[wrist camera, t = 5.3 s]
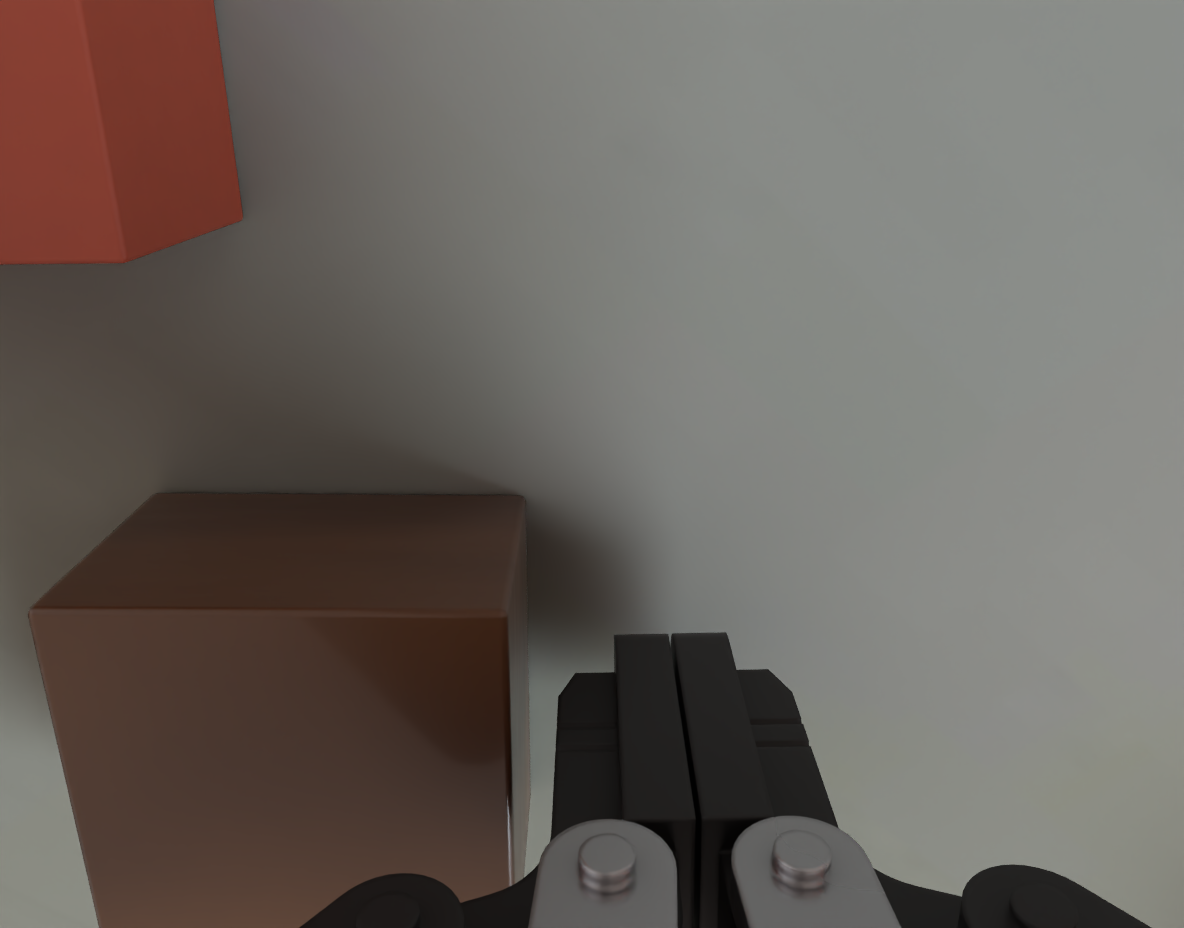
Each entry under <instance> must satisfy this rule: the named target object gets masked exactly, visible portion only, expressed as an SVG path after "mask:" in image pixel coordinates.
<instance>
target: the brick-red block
mask: <svg viewBox="0 0 1184 928" xmlns="http://www.w3.org/2000/svg"><path fill="white" fill-rule="evenodd" d="M242 219H243V213H242V206H241V198H240V191H239V184H238V176H237V169H236V162H235V154H234V147H233V140H232V132H231V125H230V118H229V110H228V103H227V96H226V88H225V81H224V74H223V66H222V59H221V52H220V44H219V37H218V30H217V22H216V15H215V8H214V0H0V265H2V264H95V263H126V262H128V261H131V260H134V259H137V258H140V257H142V256H145V255H148V254H151V253H153V252H156V251H159V250H162V249H164V248H167V247H170V246H173V245H175V244H178V243H181V242H184V241H186V240H189V239H192V238H195V237H198V236H200V235H203V234H206V233H209V232H211V231H214V230H217V229H220V228H222V227H225V226H228V225H231V224H233V223H236V222H239V221H241V220H242Z"/></svg>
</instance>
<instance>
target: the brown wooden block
mask: <svg viewBox="0 0 1184 928" xmlns="http://www.w3.org/2000/svg"><path fill="white" fill-rule="evenodd" d="M28 618H29V622H30V626H31V631H32V635H33V639H34V644H35V648H36V653H37V657H38V661H39V666H40V670H41V675H42V679H43V683H44V688H45V692H46V696H47V701H48V705H49V710H50V714H51V718H52V723H53V727H54V732H55V736H56V740H57V745H58V749H59V753H60V758H61V762H62V767H63V771H64V775H65V780H66V784H67V788H68V793H69V797H70V802H71V806H72V810H73V815H74V819H75V824H76V828H77V832H78V837H79V841H80V845H81V850H82V854H83V859H84V863H85V867H86V872H87V876H88V880H89V885H90V889H91V894H92V898H93V902H94V907H95V911H96V916H97V920H98V924H99V928H299V927H301V926H302V925H303V924H305V923H306V922H307V921H309V920H310V919H311V918H312V917H314V916H315V915H316V914H318V913H319V912H320V911H322V910H323V909H324V908H325V907H327V906H328V905H329V904H331V903H332V902H333V901H334V900H336V899H337V898H338V897H340V896H341V895H342V894H344V893H345V892H347V891H348V890H350V889H351V888H353V887H355V886H357V885H359V884H361V883H363V882H365V881H367V880H370V879H373V878H376V877H380V876H384V875H388V874H397V873H413V874H420V875H425V876H428V877H431V878H434V879H436V880H438V881H440V882H442V883H444V884H445V885H446V886H447V887H449V888H450V889H451V890H452V891H453V892H454V893H455V895H456V896H457V897H458V899H459V901H460V903H461V902H465V901H468V900H472V899H475V898H479V897H482V896H486V895H489V894H492V893H495V892H498V891H501V890H503V889H505V888H507V887H509V886H511V885H514V884H515V883H517V882H518V881H520V880H521V879H523V878H524V869H525V857H526V844H527V832H528V820H529V807H530V795H531V788H530V729H529V670H528V611H527V552H526V501H525V499H524V497H523V496H519V495H362V494H203V493H156V494H154V495H152V496H151V497H150V498H149V499H148V500H147V501H146V502H145V503H143V504H142V505H141V506H140V507H139V508H138V509H137V510H136V511H135V512H134V513H133V514H131V515H130V516H129V517H128V518H127V519H126V520H125V521H124V522H123V523H122V524H121V525H119V526H118V527H117V528H116V529H115V530H114V531H113V532H112V533H111V534H110V535H109V536H107V537H106V538H105V539H104V540H103V541H102V542H101V543H100V544H99V545H98V546H97V547H95V548H94V549H93V550H92V551H91V552H90V553H89V554H88V555H87V556H86V557H85V558H83V559H82V560H81V561H80V562H79V563H78V564H77V565H76V566H75V567H74V568H73V569H71V570H70V571H69V572H68V573H67V574H66V575H65V576H64V577H63V578H62V579H61V580H59V581H58V582H57V583H56V584H55V585H54V586H53V587H52V588H51V589H50V590H49V591H47V592H46V593H45V594H44V595H43V596H42V597H41V598H40V599H39V600H38V601H37V602H35V603H34V604H33V605H32V606H31V607H30V609H29V613H28Z"/></svg>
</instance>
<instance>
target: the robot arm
mask: <svg viewBox="0 0 1184 928" xmlns="http://www.w3.org/2000/svg"><path fill="white" fill-rule="evenodd" d="M299 928H1151V927H1149V926H1148V925H1146V924H1144V923H1143V922H1141V921H1139V920H1138V919H1136V918H1134V917H1133V916H1131V915H1129V914H1127V913H1126V912H1124V911H1122V910H1121V909H1119V908H1117V907H1116V906H1114V905H1112V904H1111V903H1109V902H1107V901H1106V900H1104V899H1102V898H1101V897H1099V896H1097V895H1096V894H1094V893H1092V892H1091V891H1089V890H1087V889H1085V888H1084V887H1082V886H1080V885H1079V884H1077V883H1075V882H1073V881H1071V880H1069V879H1067V878H1066V877H1063V876H1061V875H1058V874H1056V873H1053V872H1051V871H1047V870H1044V869H1040V868H1036V867H1031V866H1025V865H1000V866H995V867H991V868H988V869H985V870H983V871H981V872H979V873H978V874H976V875H975V876H973V877H972V878H971V879H970V880H969V882H968V883H967V884H966V886H965V888H964V890H963V895H962V897H961V896H956V895H952V894H948V893H943V892H939V891H935V890H931V889H926V888H922V887H918V886H914V885H911V884H907V883H904V882H901V881H899V880H896V879H894V878H891V877H889V876H887V875H885V874H883V873H881V872H879V871H877V870H876V869H874V868H873V867H872V864H871V862H870V860H869V858H868V857H867V855H866V853H865V851H864V850H863V849H862V848H861V846H860V845H859V844H858V843H857V842H856V841H855V840H854V839H853V838H852V837H850V836H849V835H848V834H846V833H845V832H843V831H842V830H840V829H839V828H838V825H837V822H836V819H835V816H834V813H833V810H832V807H831V804H830V801H829V798H828V796H827V793H826V790H825V787H824V784H823V781H822V778H821V775H820V772H819V769H818V766H817V763H816V760H815V758H814V755H813V752H812V749H811V746H809V740H808V737H807V734H806V731H805V728H804V725H803V724H801V717H800V714H799V711H798V708H797V705H796V702H795V699H794V696H793V693H792V692H791V691H790V690H789V689H788V688H787V687H786V686H785V685H784V684H783V683H782V682H781V681H780V680H779V679H778V678H777V677H776V676H775V675H774V674H773V673H771V672H770V671H769V670H768V669H763V670H736V666H735V662H734V658H733V655H732V651H731V647H730V643H729V639H728V636H727V633H673V634H672V635H671V646H670V642H669V636H668V634H630V635H614V672H611V673H575V675H574V676H573V677H572V679H571V680H570V681H569V683H568V684H567V685H566V687H565V688H564V690H563V691H562V692H561V694H560V695H559V696H558V714H557V733H556V753H555V772H554V791H553V811H552V830H551V839H550V843H549V844H548V845H547V847H546V848H545V850H544V852H543V853H542V855H541V858H540V862H539V864H538V865H537V866H536V868H535V869H534V870H533V871H531V872H530V873H529V874H528V875H527V876H526V877H524V878H523V879H521V880H520V881H518V882H517V883H515V884H514V885H511V886H509V887H507V888H505V889H503V890H501V891H498V892H495V893H492V894H489V895H486V896H482V897H479V898H475V899H472V900H468V901H465V902H461V903H460V901H459V899H458V897H457V896H456V895H455V893H454V892H453V891H452V890H451V889H450V888H449V887H447V886H446V885H445V884H444V883H442V882H440V881H438V880H436V879H434V878H431V877H428V876H425V875H420V874H413V873H397V874H388V875H384V876H380V877H376V878H373V879H370V880H367V881H365V882H363V883H361V884H359V885H357V886H355V887H353V888H351V889H350V890H348V891H347V892H345V893H344V894H342V895H341V896H340V897H338V898H337V899H336V900H334V901H333V902H332V903H331V904H329V905H328V906H327V907H325V908H324V909H323V910H322V911H320V912H319V913H318V914H316V915H315V916H314V917H312V918H311V919H310V920H309V921H307V922H306V923H305V924H303V925H302V926H301V927H299Z"/></svg>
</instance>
